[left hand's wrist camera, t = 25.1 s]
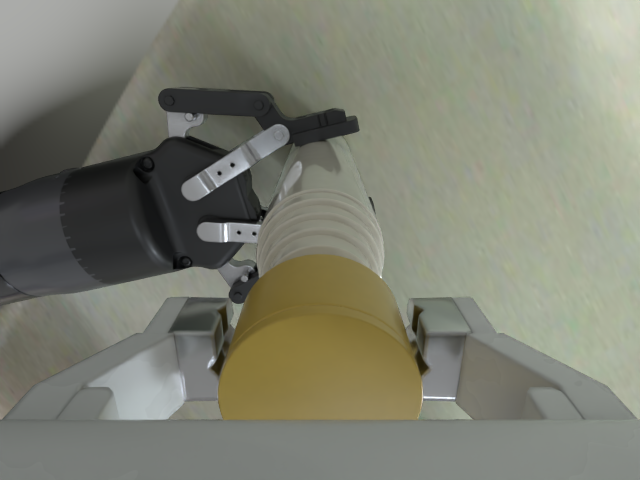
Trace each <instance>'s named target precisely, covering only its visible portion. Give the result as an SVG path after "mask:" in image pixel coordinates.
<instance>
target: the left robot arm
mask: <svg viewBox="0 0 640 480" xmlns="http://www.w3.org/2000/svg"><path fill="white" fill-rule="evenodd" d="M407 316H408V319H409V322H410V325H409V326H408V327H407V328H406V329H405V330H406V333H407V336H408V339H409V342H410V345H411V348H412V351H413V354H414V357H415V360H416V363H417V366H418V369H419V372H420V375H421V378H422V384H423V401H456V404H457V405H458V406H459V407H461V408H462V409H463V410H464V411H465V412H466V413H467V414H468V415H469V416H470V417H471V418H473V419H474V420H167V419H168V418H169V417H170V416H171V415H172V414H173V413H174V412H175V411H176V410H178V409H179V408H180V407H181V406H182V405H183V404H184V401H216V400H218V383H219V379H220V375H221V371H222V368H223V365H224V362H225V359H226V356H227V353H228V350H229V347H230V344H231V341H232V338H233V335H234V332H235V329H234V328H233V327H232V326H231V325H230V322H231V319H232V317H233V307H232V301H231V299H230V298H198V297H191V298H189V297H170V298H167V299H166V300H165V302H164V303H163V305H162V306H161V308H160V309H159V311H158V312H157V313H156V315H155V316H154V318H153V319H152V321H151V322H150V324H149V325H148V327H147V328H146V329H145V331H144V332H143V333H136V334H134V335H132V336H130V337H128V338H126V339H124V340H122V341H120V342H118V343H116V344H114V345H112V346H110V347H108V348H106V349H104V350H103V351H101V352H99V353H97V354H95V355H93V356H91V357H89V358H87V359H85V360H83V361H81V362H79V363H77V364H75V365H73V366H71V367H69V368H67V369H65V370H63V371H61V372H59V373H57V374H55V375H53V376H51V377H49V378H47V379H45V380H43V381H41V382H39V383H37V384H35V385H34V386H33V387H32V388H31V389H30V390H29V391H28V392H27V393H26V394H25V395H24V396H23V397H22V399H21V400H20V401H19V402H18V403H17V404H16V405H15V406H14V407H13V408H12V409H11V410H10V412H9V413H8V414H7V415H6V416H5V417H4V418H3V419H2V420H0V480H640V420H638V419H637V418H636V417H635V416H634V415H633V414H632V412H631V411H630V410H629V409H628V408H627V407H626V406H625V405H624V404H623V403H622V402H621V400H620V399H619V398H618V397H617V396H616V395H615V394H614V393H613V392H612V391H611V390H610V388H609V387H608V386H606V385H604V384H602V383H600V382H598V381H596V380H594V379H592V378H590V377H589V376H587V375H585V374H583V373H581V372H579V371H577V370H575V369H573V368H571V367H569V366H567V365H565V364H563V363H561V362H559V361H557V360H555V359H553V358H551V357H549V356H547V355H545V354H543V353H541V352H539V351H537V350H535V349H533V348H532V347H530V346H528V345H526V344H524V343H522V342H520V341H518V340H516V339H514V338H512V337H510V336H508V335H506V334H504V333H497V332H496V331H495V329H494V328H493V327H492V325H491V324H490V322H489V321H488V319H487V318H486V317H485V315H484V314H483V312H482V311H481V309H480V308H479V306H478V305H477V304H476V302H475V301H474V299H473V298H471V297H454V298H451V297H447V298H411V299H409V301H408V306H407Z"/></svg>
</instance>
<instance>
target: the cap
mask: <svg viewBox="0 0 640 480" xmlns="http://www.w3.org/2000/svg"><path fill="white" fill-rule="evenodd" d="M422 402H423V384H422V378H421V375H420V372H419V369H418V366H417V363H416V360H415V357H414V354H413V351H412V348H411V345H410V342H409V339H408V336H407V333H406V330H405V327H404V324H403V321H402V318H401V315H400V312H399V309H398V306H397V303H396V300H395V298H394V296H393V294H392V292H391V290H390V289H389V287H388V286H387V284H386V283H385V282H384V281H383V280H382V279H381V278H380V277H379V276H378V275H377V274H376V273H375V272H373V271H372V270H371V269H369V268H368V267H366V266H364V265H362V264H361V263H358V262H356V261H354V260H351V259H348V258H344V257H341V256H336V255H329V254H314V255H305V256H300V257H296V258H293V259H290V260H287V261H285V262H283V263H280V264H278V265H276V266H275V267H273V268H272V269H270V270H269V271H267V272H266V273H265V274H264V275H263V276H262V277H260V278H259V280H258V281H257V282H256V283H255V284H254V285H253V287H252V288H251V290H250V292H249V293H248V295H247V297H246V300H245V302H244V305H243V308H242V311H241V314H240V317H239V320H238V323H237V326H236V329H235V332H234V335H233V338H232V341H231V344H230V347H229V350H228V353H227V356H226V359H225V362H224V365H223V368H222V371H221V375H220V379H219V383H218V403H219V407H220V412H221V415H222V417H223V420H418V417H419V414H420V411H421V408H422Z"/></svg>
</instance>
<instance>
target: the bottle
mask: <svg viewBox="0 0 640 480" xmlns="http://www.w3.org/2000/svg"><path fill="white" fill-rule="evenodd" d="M314 254H329V255H336V256H341V257H344V258H348V259H351V260H354V261H356V262H358V263H361V264H362V265H364V266H366V267H368V268H369V269H371V270H372V271H373V272H375V273H376V274H377V275H378V276H379V277H380V278H381V277H382V270H383V266H384V243H383V236H382V232H381V229H380V226H379V223H378V221H377V218H376V215H375V213H374V210H373V208H372V205H371V203H370V200H369V198H368V195H367V192H366V190H365V187H364V185H363V182H362V180H361V177H360V174H359V172H358V169H357V167H356V164H355V162H354V159H353V156H352V154H351V151H350V149H349V146H348V144H347V142H346V140H345V139H344V138H343V136H339V137H335V138H331V139H327V140H322V141H318V142H313V143H309V144H306V145H302V146H298V147H295V144H294V143H293V145H292V147H291V150H290V152H289V155H288V158H287V160H286V163H285V165H284V168H283V170H282V173H281V176H280V178H279V181H278V183H277V186H276V189H275V191H274V194H273V196H272V199H271V201H270V204H269V207H268V209H267V212H266V214H265V217H264V220H263V222H262V225H261V227H260V231H259V234H258V240H257V251H256V262H257V268H258V272H259V278H260V277H262V276H263V275H264V274H265V273H266V272H267V271H269V270H270V269H272V268H273V267H275V266H276V265H278V264H280V263H283V262H285V261H287V260H290V259H293V258H296V257H300V256H305V255H314Z"/></svg>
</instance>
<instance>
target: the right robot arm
mask: <svg viewBox="0 0 640 480" xmlns="http://www.w3.org/2000/svg"><path fill="white" fill-rule="evenodd" d="M158 101H159V104H160V106H161V107H162V108H163V109H164V110H165V111H167V123H168V134H169V138H167V139H165V140H164V141H163V142H162V143H161V144H160V145H159V146H158V147H157V148H156V149H154V150H151V151H147V152H143V153H139V154H135V155H131V156H127V157H123V158H119V159H114V160H110V161H106V162H102V163H98V164H94V165H90V166H86V167H82V168H71V169H66V170H63V171H62V172H60V173H58V174H54V175H50V176H46V177H42V178H39V179H36V180H34V181H31V182H29V183H26V184H24V185H22V186H19V187H17V188H14V189H10V190H8V191H3V192H0V306H1V305H6V304H10V303H14V302H19V301H23V300H28V299H32V298H37V297H41V296H47V295H56V294H70V293H77V292H83V291H88V290H93V289H97V288H102V287H107V286H111V285H116V284H120V283H125V282H130V281H134V280H139V279H143V278H148V277H152V276H157V275H162V274H166V273H171V272H175V271H179V270H183V269H186V268H189V267H204V268H208V269H218V271H219V272H220V274H221V275H222V276H223V278H224V279H225V280H226V282H227V283H228V285H229V286H230V287H231V289H230V292H229V298H230V299H231V301H232V302H234V303H237V304H241V303H244V302H245V300H246V297H247V295H248V293H249V292H250V290H251V288H252V287H253V285H254V284H255V283H256V282H257V281H258V280H259V272H258V268H257V263H255V262H254V261H252V260H244V261H236V260H234V259H233V258H232V257H233V256H234V255H235V254H236V253H237V252H238V250H239V249H240V248H241V247H242V246H243V245H244V243H257V240H258V234H259V231H260V227H261V225H262V222H263V220H264V217H265V214H266V212H267V209H268V207H261V205H260V202H259V199H258V197H257V196H256V194H255V192H254V191H253V189H252V176H251V172H250V169H249V168H250V167H251V166H253V165H254V164H256V163H257V162H258V161H260V160H261V159H263V158H264V157H266V156H267V155H269V154H271V153H272V152H274V151H276V150H277V149H279V148H280V147H282V146H284V145H288V144H292V143H294V144H295V147H298V146H302V145H306V144H309V143H313V142H318V141H322V140H327V139H331V138H335V137H339V136H343V135H347V134H351V133H355V132H358V131H359V125H358V120H357V117H356V116H349V117H346V115H345V111H344V110H343V109H337V108H333V109H329V110H325V111H321V112H317V113H313V114H309V115H304V116H300V117H296V118H289V117H286V116H285V115H283V114H282V112H281V111H280V110H279V108H278V107H277V105H276V103H275V102H274V98H273V96H272V95H271V94H270V93H268V92H264V91H246V90H227V89H208V88H189V87H178V88H168V89H164V90H162V91H161V92H160V94H159V97H158ZM208 114H215V115H234V116H253V117H255V118H256V119H257V121H258V122H259V124H260V125H261V127H262V128H263V130H262V131H261V132H259V133H257V134H256V135H254V136H252V137H251V138H249V139H247V140H246V141H244V142H243V143H241V144H240V145H238V146H236V147H235V148H233V149H232V150H230V151H226V150H224V149H221V148H219V147H216V146H214V145H211V144H209V143H206V142H204V141H201V140H199V139H197V138H194V137H192V136H189V132H190V130H191V128H192V127H196V126H199V125H201V124H203V123H205V122H206V120H207V117H208ZM368 198H369V200H370V203H371V205H372V208H373V210H374V213H375V209H374V204H373V201H372V199H371V197H368ZM260 216H262V217H260ZM255 232H256V233H255Z"/></svg>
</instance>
